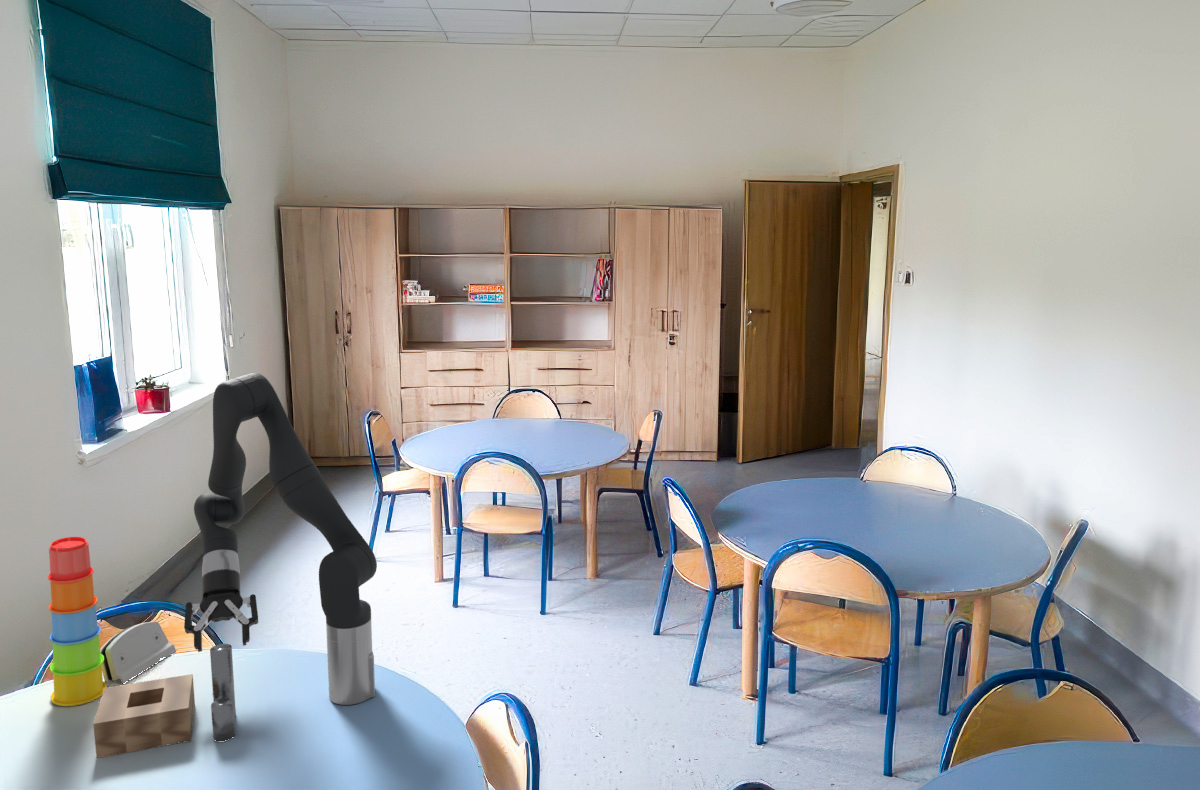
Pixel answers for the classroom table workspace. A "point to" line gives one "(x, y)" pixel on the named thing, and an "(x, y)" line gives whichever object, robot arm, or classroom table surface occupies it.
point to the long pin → (222, 672)
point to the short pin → (223, 719)
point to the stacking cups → (74, 625)
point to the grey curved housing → (134, 651)
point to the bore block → (144, 715)
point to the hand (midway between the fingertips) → (222, 647)
